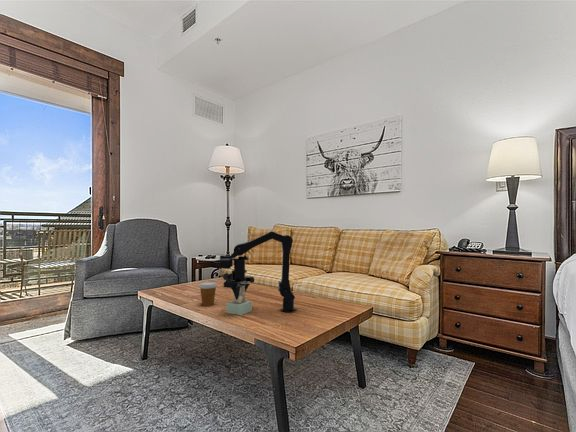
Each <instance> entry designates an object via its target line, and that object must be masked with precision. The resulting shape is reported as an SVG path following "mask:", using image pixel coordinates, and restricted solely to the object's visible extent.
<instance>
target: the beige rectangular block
mask: <svg viewBox="0 0 576 432" xmlns="http://www.w3.org/2000/svg"><path fill="white" fill-rule="evenodd" d="M239 286H240V287H241V288H240V292H239V297H238V299H236V298H235V296H234V295H233V301H234V303H237V304H242V303H243V302H245V300H246V292H245V286H244V285H239Z"/></svg>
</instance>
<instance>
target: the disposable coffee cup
mask: <svg viewBox="0 0 576 432" xmlns="http://www.w3.org/2000/svg"><path fill="white" fill-rule="evenodd" d="M217 285H218V284H217V282H215V281H214V282H213V281H204V282H201V283H200V284H199V288H200V296H201V305H202V306H203V307H211V306H214V304H215V296H216V289H217Z"/></svg>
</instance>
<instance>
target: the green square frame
mask: <svg viewBox="0 0 576 432" xmlns="http://www.w3.org/2000/svg"><path fill="white" fill-rule="evenodd" d="M252 305H253V301H252V300H246V299H245V302H243V303H242V304H237V303H234V300H231V301H227V302H226V313H227V314H231V315H232V314H233V315H236V316H237V315H238V316H243V315H245V314H248V313H249V312H252V310H253V309H252V308H253V306H252Z"/></svg>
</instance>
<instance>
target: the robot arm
mask: <svg viewBox="0 0 576 432" xmlns="http://www.w3.org/2000/svg"><path fill="white" fill-rule="evenodd" d="M271 240H274V241H277V242H279V243H280V245H281V250H282V257H281V258H282V260H281V278H280V280H278V281H277V283H278V287H277V290H278V292H279V294H280V296H281V297H283V299H282V308H281V309H280V312H284V313H285V312H286V313H292V312H294V311H297V307H295V298H296V297H295V294H294V292H292V290H291V284H290V260H291V257H290V256H291V255H290V254H291V249H292V247H293V237H292V236H290V235H288V234H285V235H282V234H280V233H276V232H275V231H273V230H271V231H270V230H269V232H266V233H265V234H263V235H261V236H258V237H256V238H254V239H252V240H250V241H246V242H241V243H238V244H236V245H235V246H234V248H233V252H232V253H231V254H230V255H222V254H221V255H219V263H218V267H219V269H220V270H221V269H223V270H225V269H228V270H229V269H231V268H232V267H233V270H232V271H231V273H228V272H227V273H226V272H225V273H224V274H223V276H222V279H223V280H224V282H223V288H229V289H231V290H232V292H233V297H234V296H235V298H236V299H238V297H239V292H240V288H241V287H240V286H239V285H244V286H245V293H246V292H247V290H248V288H249V287H250V285H251V284H252V283H253V284H254V282H255V278H254V277H253V276H250V275H247V276H246V273H247V269H246V261H249V257H248V256H247V255H246V253H248V252H249V251H250V250H251V249H253V248H255V247H258V246H260V245H262V244H264V243H266V242H269V241H271ZM243 255H244V256H243Z"/></svg>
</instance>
